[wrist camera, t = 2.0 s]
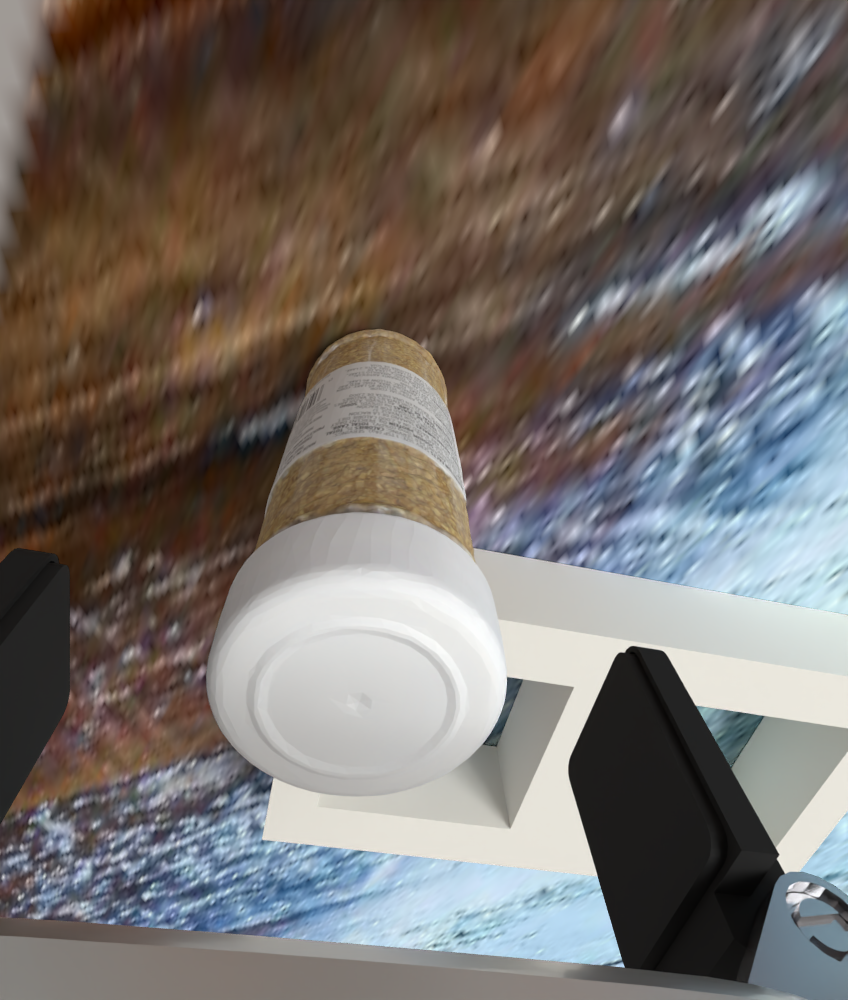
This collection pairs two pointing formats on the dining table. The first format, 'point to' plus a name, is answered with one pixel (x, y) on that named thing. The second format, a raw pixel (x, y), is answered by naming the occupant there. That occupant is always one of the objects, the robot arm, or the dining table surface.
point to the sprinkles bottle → (362, 590)
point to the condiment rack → (568, 702)
